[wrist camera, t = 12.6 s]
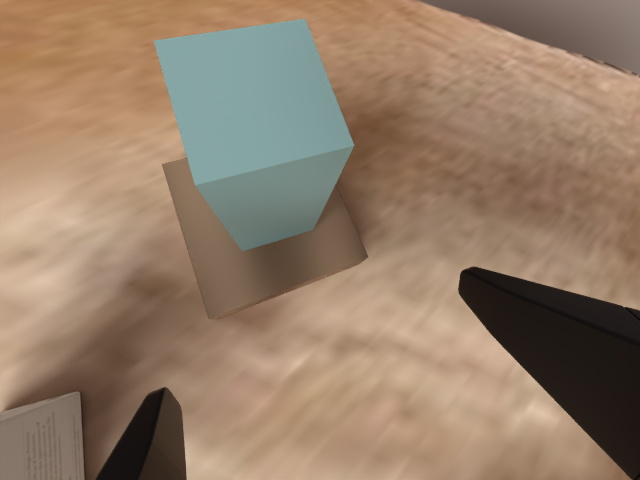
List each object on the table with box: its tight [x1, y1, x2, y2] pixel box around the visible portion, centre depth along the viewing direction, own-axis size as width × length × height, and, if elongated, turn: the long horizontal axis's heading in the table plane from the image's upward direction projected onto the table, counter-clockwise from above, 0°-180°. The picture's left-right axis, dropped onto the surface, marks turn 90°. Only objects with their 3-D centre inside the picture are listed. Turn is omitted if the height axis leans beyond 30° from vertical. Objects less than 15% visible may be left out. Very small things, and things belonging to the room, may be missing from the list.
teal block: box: [154, 19, 354, 251], centre depth 13 cm, size 4×4×10 cm
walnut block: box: [162, 158, 368, 319], centre depth 19 cm, size 10×10×3 cm
